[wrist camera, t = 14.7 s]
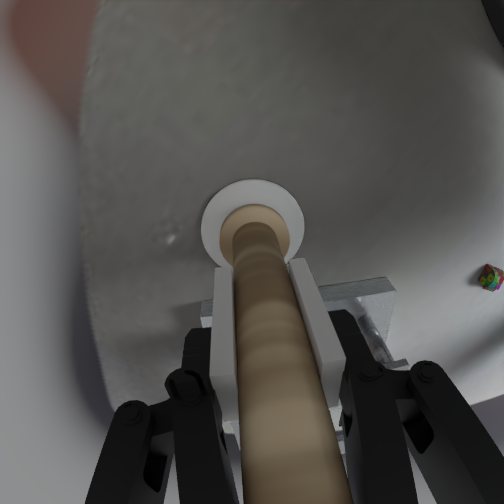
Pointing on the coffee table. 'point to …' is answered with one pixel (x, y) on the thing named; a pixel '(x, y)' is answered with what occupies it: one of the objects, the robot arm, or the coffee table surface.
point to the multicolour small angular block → (491, 278)
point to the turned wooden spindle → (277, 373)
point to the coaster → (243, 195)
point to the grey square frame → (365, 313)
